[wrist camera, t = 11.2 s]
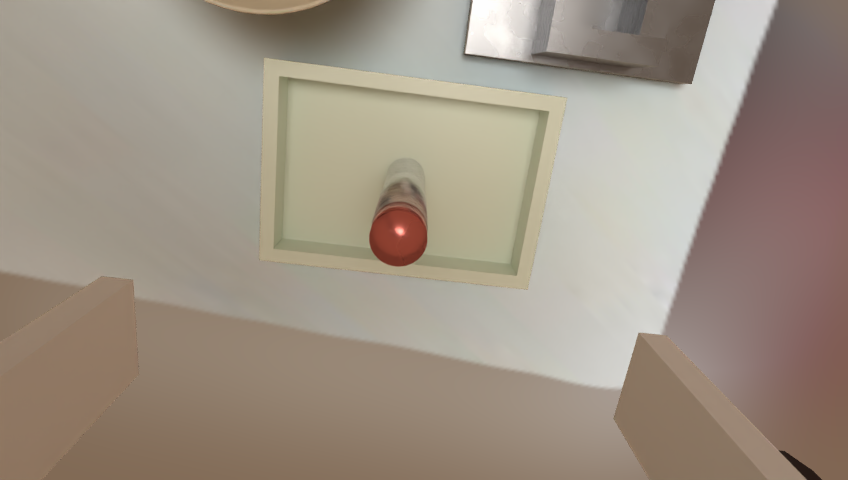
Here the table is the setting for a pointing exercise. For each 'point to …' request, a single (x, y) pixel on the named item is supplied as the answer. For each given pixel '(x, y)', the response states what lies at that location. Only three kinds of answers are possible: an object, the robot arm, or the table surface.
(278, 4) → the bowl
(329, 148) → the tray
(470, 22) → the block
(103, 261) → the table surface
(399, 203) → the pin
